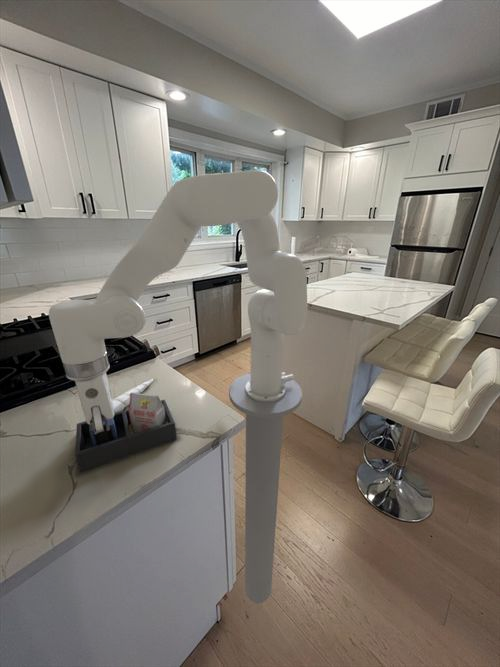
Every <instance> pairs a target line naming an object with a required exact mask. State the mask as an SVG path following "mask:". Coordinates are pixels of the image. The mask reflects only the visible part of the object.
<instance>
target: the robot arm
mask: <svg viewBox="0 0 500 667" xmlns="http://www.w3.org/2000/svg"><path fill="white" fill-rule="evenodd" d="M278 198H279V188H278V185H277V182H276V180H275V178H274V177H273V176H272V175H271V174H270V173H269V172H268V171H266V170H264V169H263V170H262V169H249V170H239V171H232V172H231V171H230V172H219V173H204V174H199V175H198V174H197V175H193V176H189V177H186V178H182V179H179V180H178V181H177V182H175V183H174V184H173V185H172V186H171V187H170V189H169V190H168V192H167V193H166V194H165V197H164V198H163V200H162V201H161V203H160V205H159V206H158V208H157V209H156V211H155V213H154V214H153V216H152V217H151V219H150V221H149V222H148V224H147V225H146V227H145V229H144V230H143V231H142V233H141V235H140V236H139V238H138V239H137V241H136V242H135V243H134V244H133V245H132V246H131V247H130V248H129V250H128V251H127V252H126V254H125V255H124V256H123V257H122V258H121V259H120V261H119V262H118V263H117V264H116V265H115V267H114V269H113V270H112V271H111V273H110V274H109V276H108V278H107V279H106V281H105V282H104V284H103V285H102V287H101V289H100V291H99V292H98V294H97V296H96V299H95V301H94V302H95V303H94V302H93V301H91V300H87V299H70V300H64V301H60V302H57V303H55V304H53V305H52V306H51V307H49V309H48V318H49V321H50V325H51V328H52V332H53V336H54V339H55V344H56V346H57V349H58V352H59V356H60V359H61V363H62V367H63V370H64V372H65V373H64V374H65V377H66V378H67V379H68V380H70V381H74V384H75V387H76V391H77V395H78V398H79V401H80V405H81V408H82V409H81V410H82V412H83V415H84V420H85V419H86V421H87V424H89V425H91V423H92V425H93V429H94V436H95V440H96V444H97V445H100V444H103V443H107V442H110V441H113V440H114V438H113V434H112V429H111V427H109V423H108V419H112V418H113V417H114V407H113V396H112V392H111V388H110V383H109V379H108V375H107V372H108V371H109V369H110V367H111V366H110V362H109V357H108V352H107V348H106V343H105V339H106V340H107V339H123V338H129V337H133V336H135V335H137V334H139V333H140V332H141V331H142V330H143V329H144V327H145V325H146V321H147V317H146V312H145V310H144V308H143V307H142V305H140V304H139V303H138V300H139V299H140V296H141V295H142V294H143V293H144V291H145V289H146V288H147V286H148V285H150V283H152V281H154V280H155V279H156V278H157V277H159V276H160V275H163V274H165V273H167V272H169V271H172V270H173V269H175V268H176V267H177V266H178V265H179V264H180V262H181V261H182V259H183V257H184V256H185V254H186V253H187V251H188V250H189V247H190V246H191V244H192V243H193V241H194V239H195V238H196V236H197V235H198V233H199V231H200V230H201V228H202V227H218V226H224V225H231V224H236V225H237V227H239V229H240V232H241V234H242V238H243V244H244V251H245V258H246V266H247V274H248V278H249V280H250V282H251V283H252V284H253V285H254V286H256V287H259V288H261V290H258V291H255V292H254V293H253V294H252V295H251V297H250V298H249V301H248V303H247V315H248V321H249V327H250V381H249V382H247V384H246V386H245V391H246V394H247V395H248V396H249V397H250V398H252V399H254V400H257V401H261V402H273V401H277V400H279V399H281V398H282V397H283V396H284V395H285V392H286V387H285V385H284V384H285V383H286V382H287V381H291V380H294V381H295V376H294V374H293V373H290V374H287V373H286V372H285V371H284V372H283V360H284V359H283V358H284V346H285V345H284V344H285V338H284V336H295V335H297V334H299V333H300V332H301V331H302V330H303V329H304V327H305V325H306V323H307V319H308V278H307V271H306V267H305V264H304V263H303V261H302V260H301V258H300V257H299V256H297V255H295V254H293V253H290V252H283V251H281V246H280V245H281V244H280V238H279V230H278V225H277V222H276V219H275V216H274V215H273V213H272V211H273V210H274V208H275V207H276V205H277V203H278ZM101 415H104V416H102V417H101ZM102 421H105V424H104V425H103V422H102Z"/></svg>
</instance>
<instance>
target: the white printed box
mask: <svg viewBox="0 0 500 667" xmlns="http://www.w3.org/2000/svg"><path fill="white" fill-rule="evenodd" d="M128 409H129V417H130V422H131V427H132V433H138V432H141V431H144V430H148V429H151V428H154V427H157V426H160V425H163V424H166V417H165V409H164V405H163V404H162V402H161V399H160V397H159V395H153V394H145V393H140V394H139V393H132V392H131V393H130V404H129V405H128Z"/></svg>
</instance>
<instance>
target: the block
mask: <svg viewBox="0 0 500 667" xmlns="http://www.w3.org/2000/svg"><path fill="white" fill-rule="evenodd" d="M102 416H104V415H101V417H102ZM102 422H103V425H104V424H105V421H102ZM108 423H109V427H111V429H112V434H113V438H114V440H116V439H117V433H116V426H115V422H114V418H112V419H108ZM90 435H91V438H92V442H93V445H94V446H97V444H96V440H95V436H94V429H93V425H92V423H91V425H90Z"/></svg>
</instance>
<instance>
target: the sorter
mask: <svg viewBox="0 0 500 667" xmlns="http://www.w3.org/2000/svg"><path fill="white" fill-rule="evenodd" d="M160 401H161V402H162V404H163V405H164V409H165V417H166V424H163V425H160V426H157V427H154V428H151V429H148V430H144V431H141V432H138V433H132V427H131V422H130V417H129V408H128V409H125V410H124V409H123V410H122V411H121V412H117V413H114V417H113V418H114V422H115V426H116V433H117V439H116V440H113V441H110V442H107V443H103V444H100V445H97V446H94V445H93V442H92V438H91V435H90V425H89V424H87V421H85V420H84V421H82V422H78V423H76V432H75V452H74V455H75V459H76V461H77V466H78V468H79V472H80V473H82V472H85V471H89V470H91V469H94V468H97V467H100V466H102V465H106V464H108V463H112V462H114V461H117V460H120V459H122V458H123V459H124V458H126V457H129V456H132V455H134V454H137V453H141V452H143V451H146V450H149V449H152V448H154V447H158V446H160V445H164V444H166V443H169V442H172V441H175V440H177V439H178V437H177V428H176V422H175V420H174V418H173V415H172V413H171V410H170V408H169V406H168V403H167V401H166V399H160Z"/></svg>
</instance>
